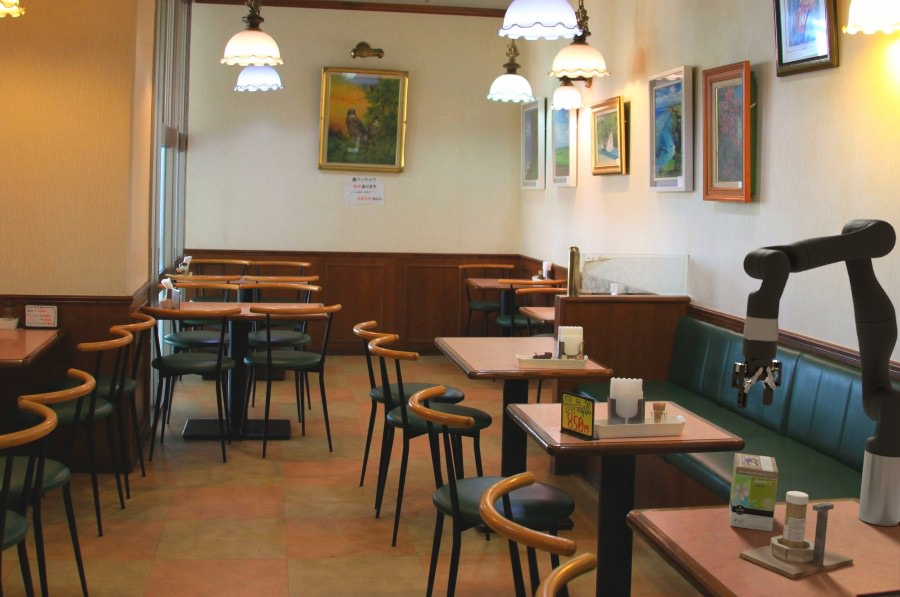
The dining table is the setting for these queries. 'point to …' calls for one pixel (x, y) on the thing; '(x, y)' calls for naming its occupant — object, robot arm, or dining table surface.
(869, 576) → the dining table surface
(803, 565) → the socket base
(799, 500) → the sprinkles bottle
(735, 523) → the tea box
